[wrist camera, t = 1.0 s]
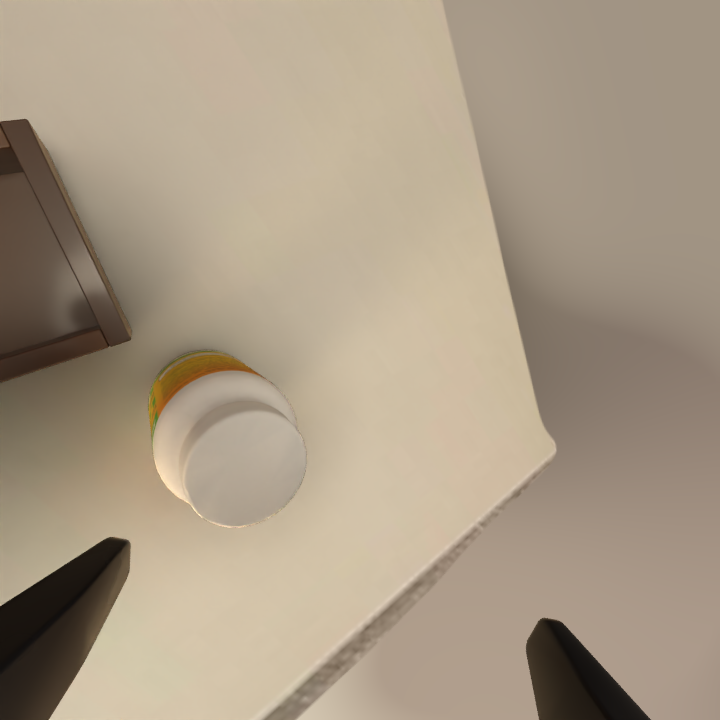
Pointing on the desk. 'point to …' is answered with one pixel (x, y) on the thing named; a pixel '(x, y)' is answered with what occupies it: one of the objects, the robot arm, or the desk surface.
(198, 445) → the supplement bottle
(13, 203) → the organizer
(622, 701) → the robot arm
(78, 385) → the desk surface
